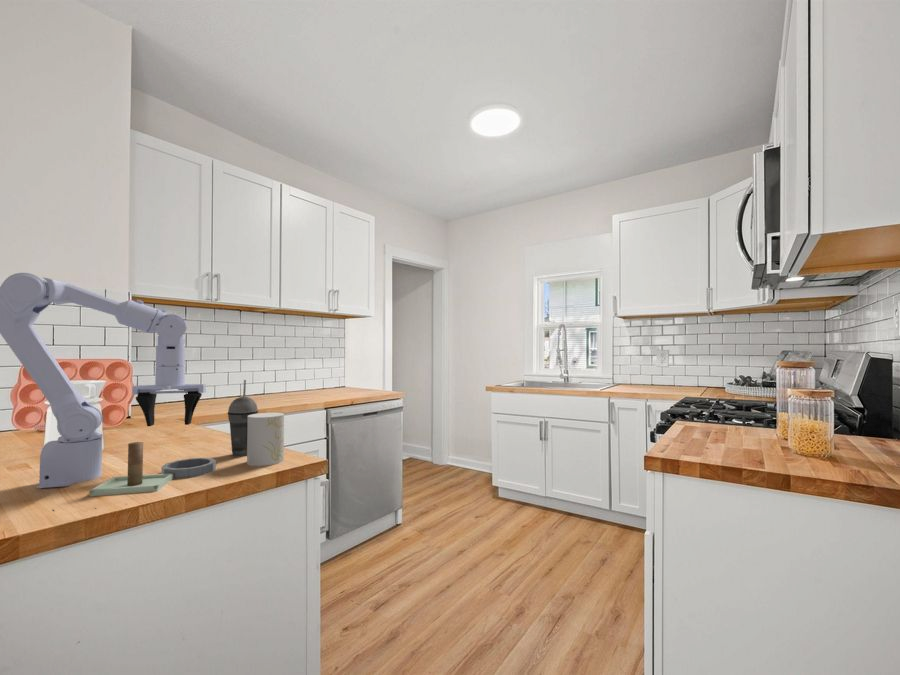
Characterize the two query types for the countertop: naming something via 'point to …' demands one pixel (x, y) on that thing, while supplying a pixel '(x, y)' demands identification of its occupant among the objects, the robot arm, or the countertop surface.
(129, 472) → the dowel
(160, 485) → the tray
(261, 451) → the cup
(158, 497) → the countertop surface
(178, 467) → the ramekin
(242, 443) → the beverage cup
